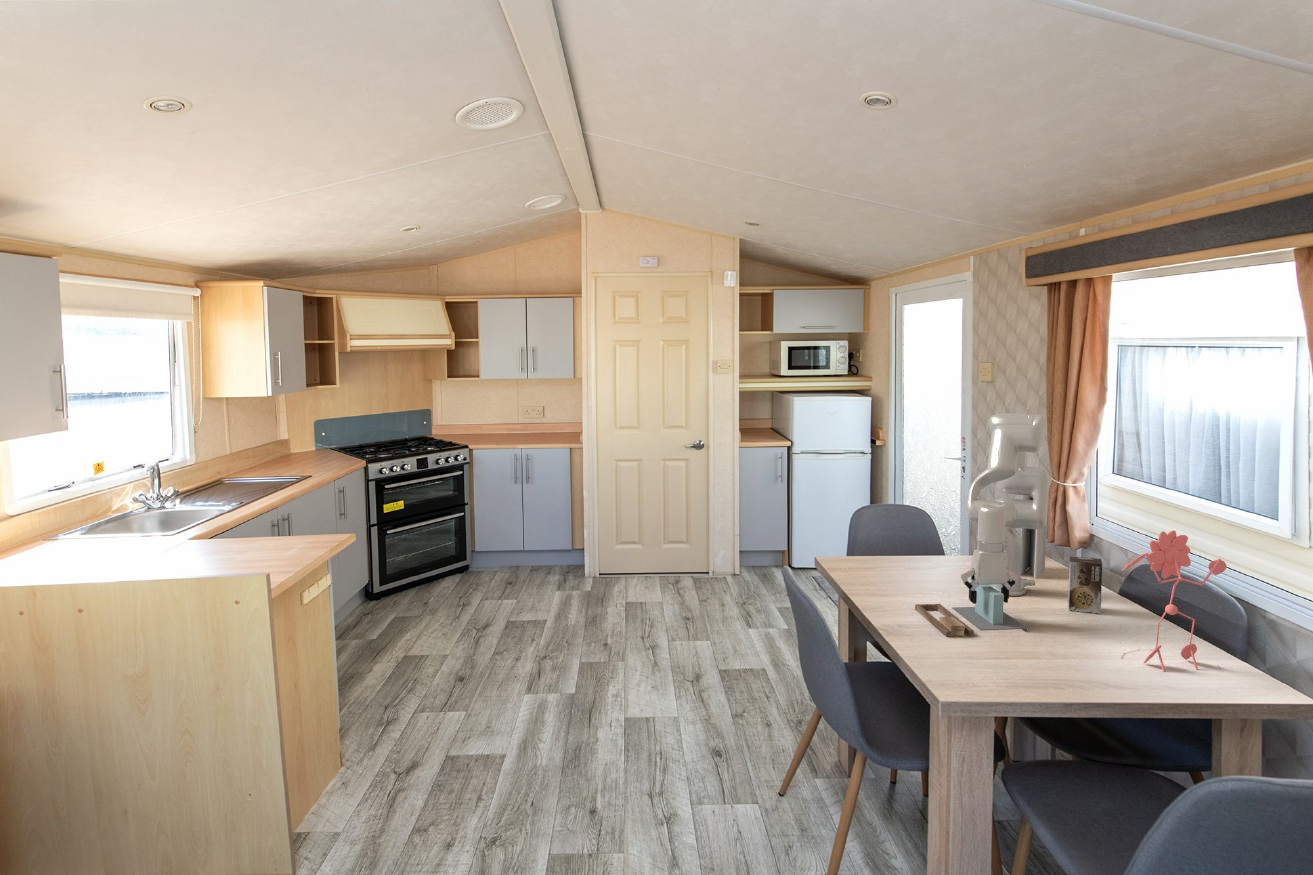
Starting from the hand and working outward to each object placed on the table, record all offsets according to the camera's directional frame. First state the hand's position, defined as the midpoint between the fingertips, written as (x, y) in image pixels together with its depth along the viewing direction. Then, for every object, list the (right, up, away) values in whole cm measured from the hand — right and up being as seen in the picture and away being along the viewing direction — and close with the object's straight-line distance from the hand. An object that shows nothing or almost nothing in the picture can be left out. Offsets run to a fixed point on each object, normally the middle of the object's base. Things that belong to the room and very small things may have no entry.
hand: (988, 601), depth 248 cm
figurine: (+33, -9, -31) cm, 46 cm away
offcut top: (-15, -5, -11) cm, 19 cm away
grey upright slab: (+36, 0, +51) cm, 62 cm away
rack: (-15, -6, -2) cm, 16 cm away
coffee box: (+34, -5, +10) cm, 35 cm away
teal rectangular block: (0, -5, 0) cm, 5 cm away
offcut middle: (-15, -6, -10) cm, 19 cm away
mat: (0, -6, +1) cm, 6 cm away
